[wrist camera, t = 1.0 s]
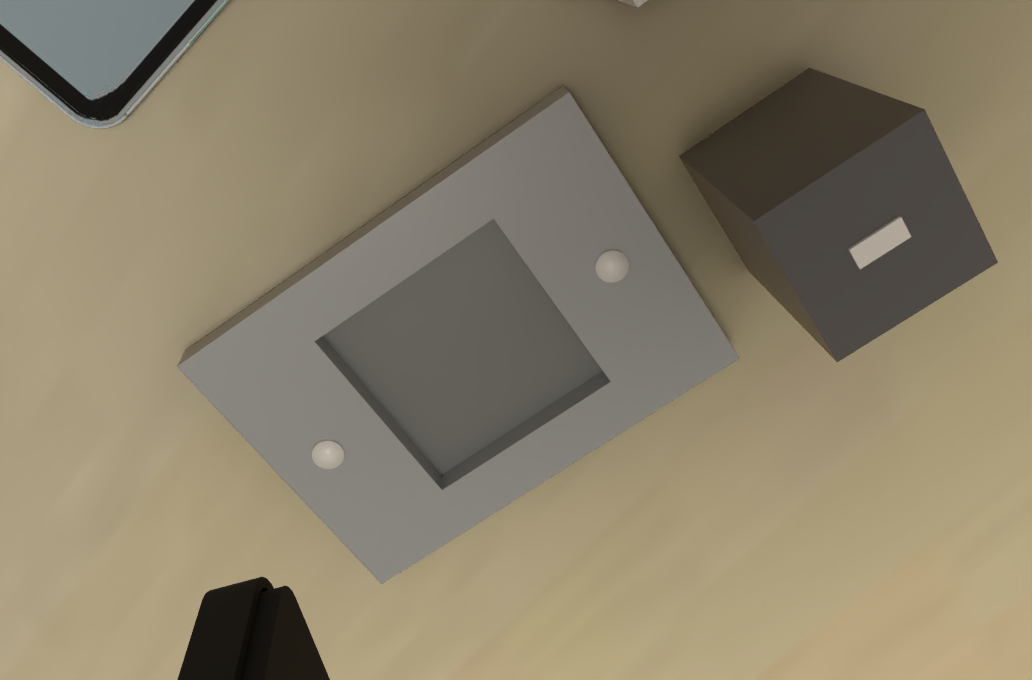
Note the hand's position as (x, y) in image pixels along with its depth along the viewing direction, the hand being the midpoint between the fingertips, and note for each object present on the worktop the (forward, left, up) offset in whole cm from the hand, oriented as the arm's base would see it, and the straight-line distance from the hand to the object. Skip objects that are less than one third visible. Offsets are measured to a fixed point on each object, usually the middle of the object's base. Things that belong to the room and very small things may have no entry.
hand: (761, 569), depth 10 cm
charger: (-6, +5, -21) cm, 22 cm away
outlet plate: (+5, +4, -21) cm, 22 cm away
